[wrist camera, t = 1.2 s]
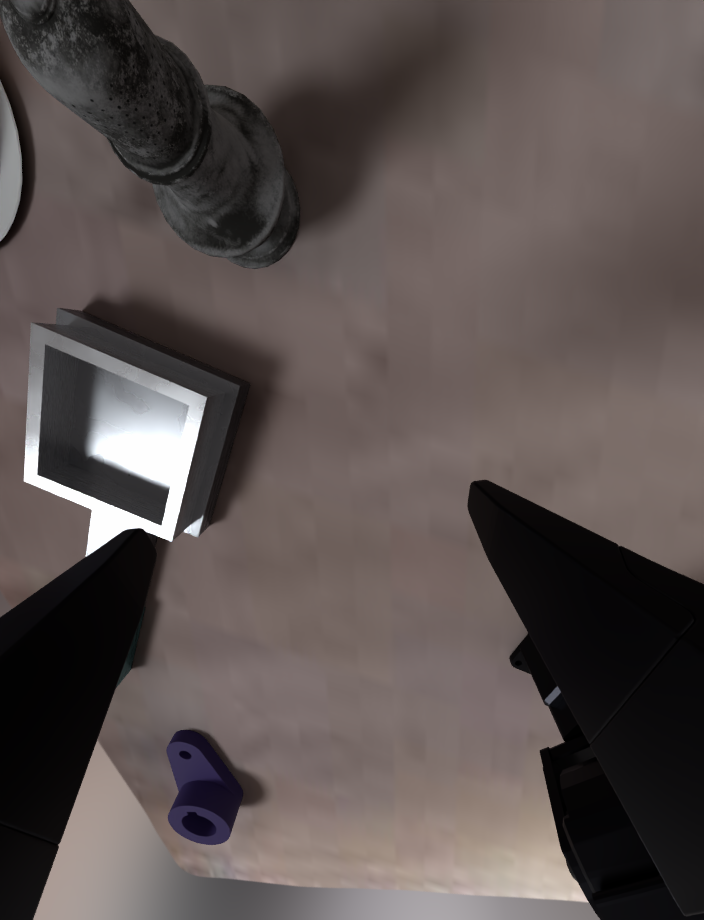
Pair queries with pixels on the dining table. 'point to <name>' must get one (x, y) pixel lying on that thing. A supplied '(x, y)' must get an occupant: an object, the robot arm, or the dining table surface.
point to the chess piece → (164, 124)
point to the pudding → (8, 165)
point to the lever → (202, 790)
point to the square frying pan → (127, 430)
